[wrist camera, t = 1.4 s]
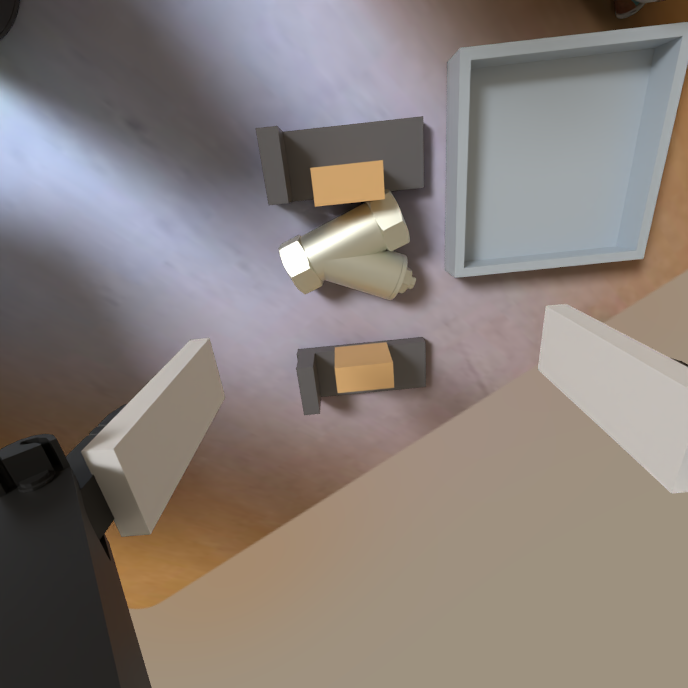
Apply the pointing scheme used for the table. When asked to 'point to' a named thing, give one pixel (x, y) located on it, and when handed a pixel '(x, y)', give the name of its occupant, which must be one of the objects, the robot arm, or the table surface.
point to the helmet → (629, 7)
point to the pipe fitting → (354, 251)
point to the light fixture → (7, 15)
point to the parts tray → (558, 147)
